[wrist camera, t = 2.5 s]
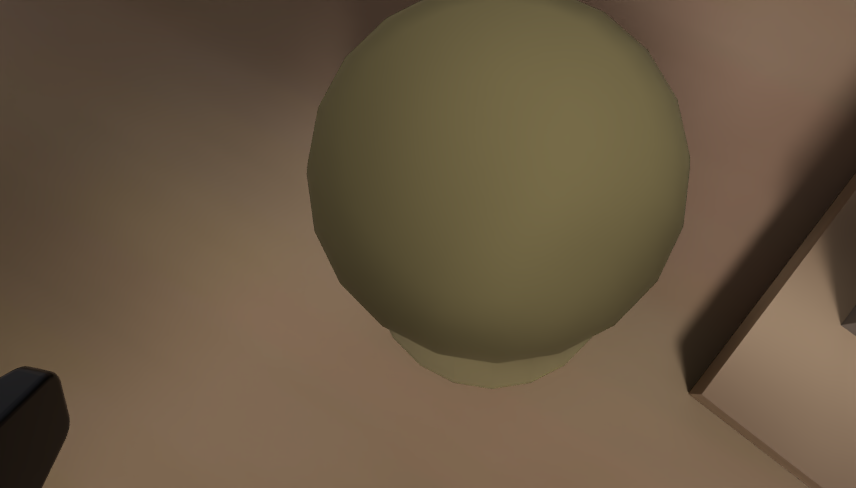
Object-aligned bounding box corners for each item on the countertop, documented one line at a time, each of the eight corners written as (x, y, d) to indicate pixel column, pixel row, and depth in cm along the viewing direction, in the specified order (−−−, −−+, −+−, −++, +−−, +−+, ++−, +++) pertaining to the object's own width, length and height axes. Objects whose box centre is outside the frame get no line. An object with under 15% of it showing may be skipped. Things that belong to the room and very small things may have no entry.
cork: (465, 438, 20) (440, 508, 9) (325, 242, 21) (152, 93, 10) (663, 292, 20) (871, 188, 9) (514, 105, 21) (545, -185, 10)
